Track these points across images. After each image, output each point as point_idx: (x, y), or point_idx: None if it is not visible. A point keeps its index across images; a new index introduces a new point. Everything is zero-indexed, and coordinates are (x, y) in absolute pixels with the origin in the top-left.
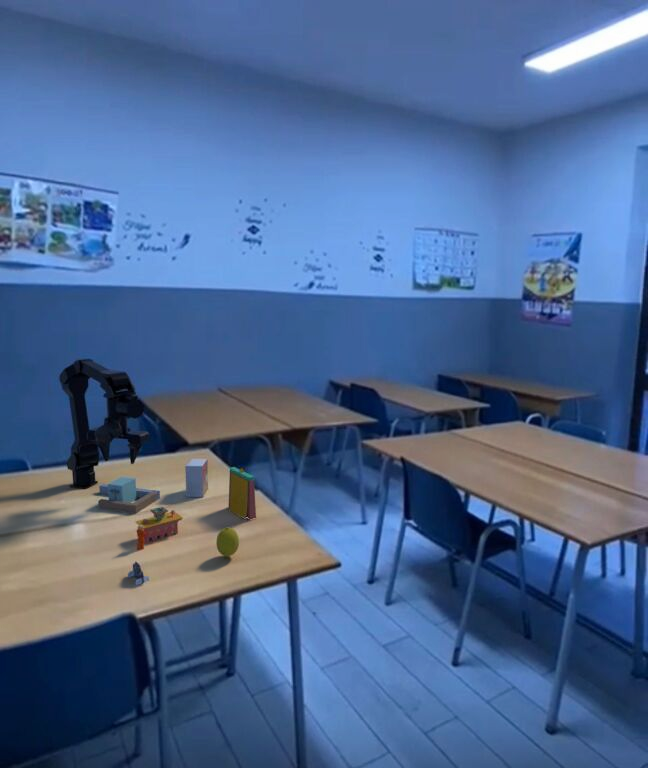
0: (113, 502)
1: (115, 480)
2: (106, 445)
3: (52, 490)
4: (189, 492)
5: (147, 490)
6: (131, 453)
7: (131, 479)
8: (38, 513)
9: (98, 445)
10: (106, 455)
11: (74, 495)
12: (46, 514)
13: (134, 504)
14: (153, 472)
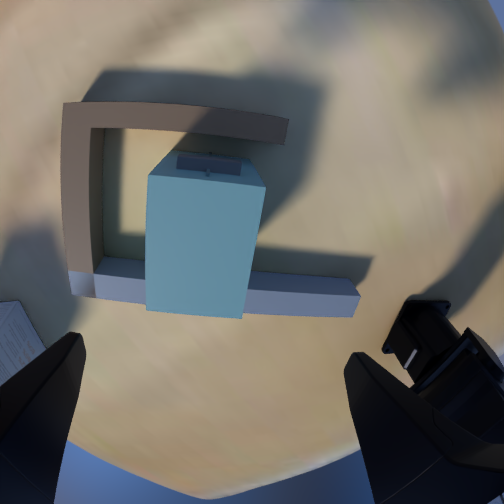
0: (191, 107)
1: (248, 259)
2: (400, 481)
3: (481, 266)
4: (4, 310)
5: (119, 290)
6: (5, 403)
7: (158, 293)
8: (466, 70)
9: (479, 445)
10: (369, 395)
11: (424, 241)
12: (443, 57)
13: (74, 114)
14: (245, 434)
